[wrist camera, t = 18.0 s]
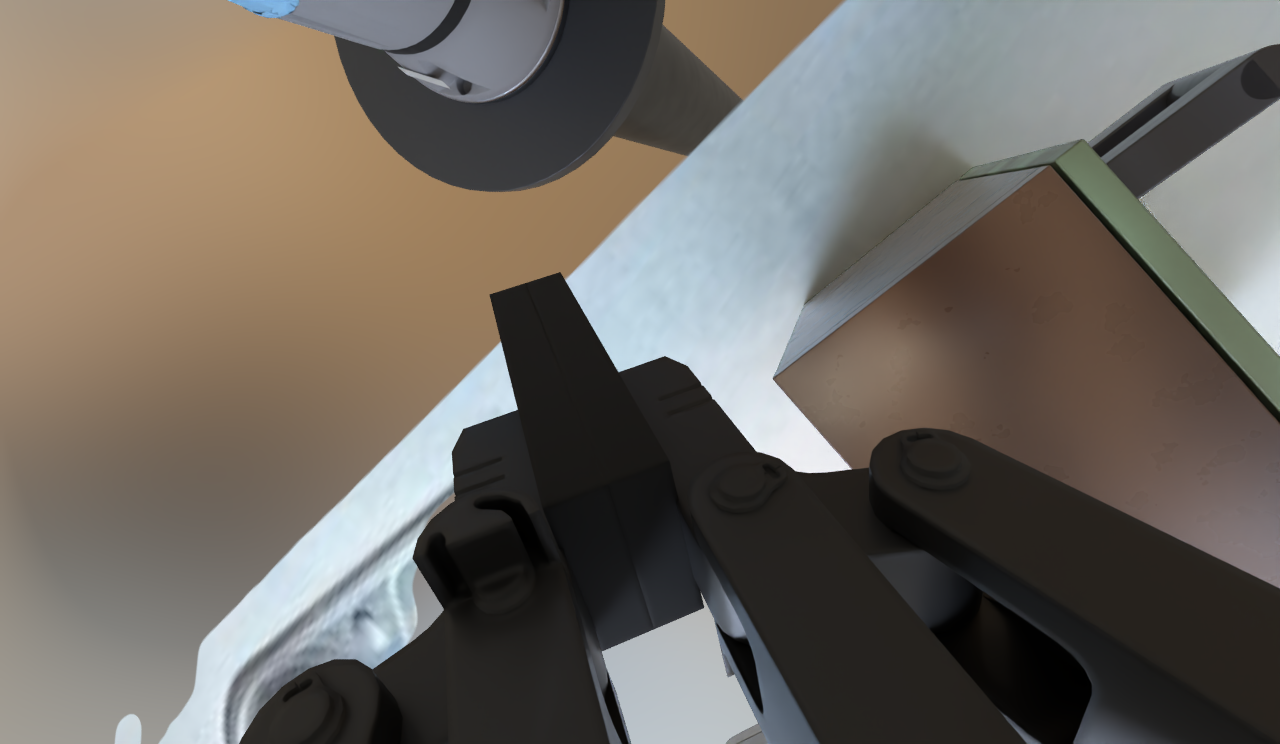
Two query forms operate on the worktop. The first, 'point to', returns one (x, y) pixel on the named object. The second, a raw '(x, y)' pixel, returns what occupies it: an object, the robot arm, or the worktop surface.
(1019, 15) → the worktop surface
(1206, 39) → the worktop surface
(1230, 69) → the door
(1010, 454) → the cupboard
